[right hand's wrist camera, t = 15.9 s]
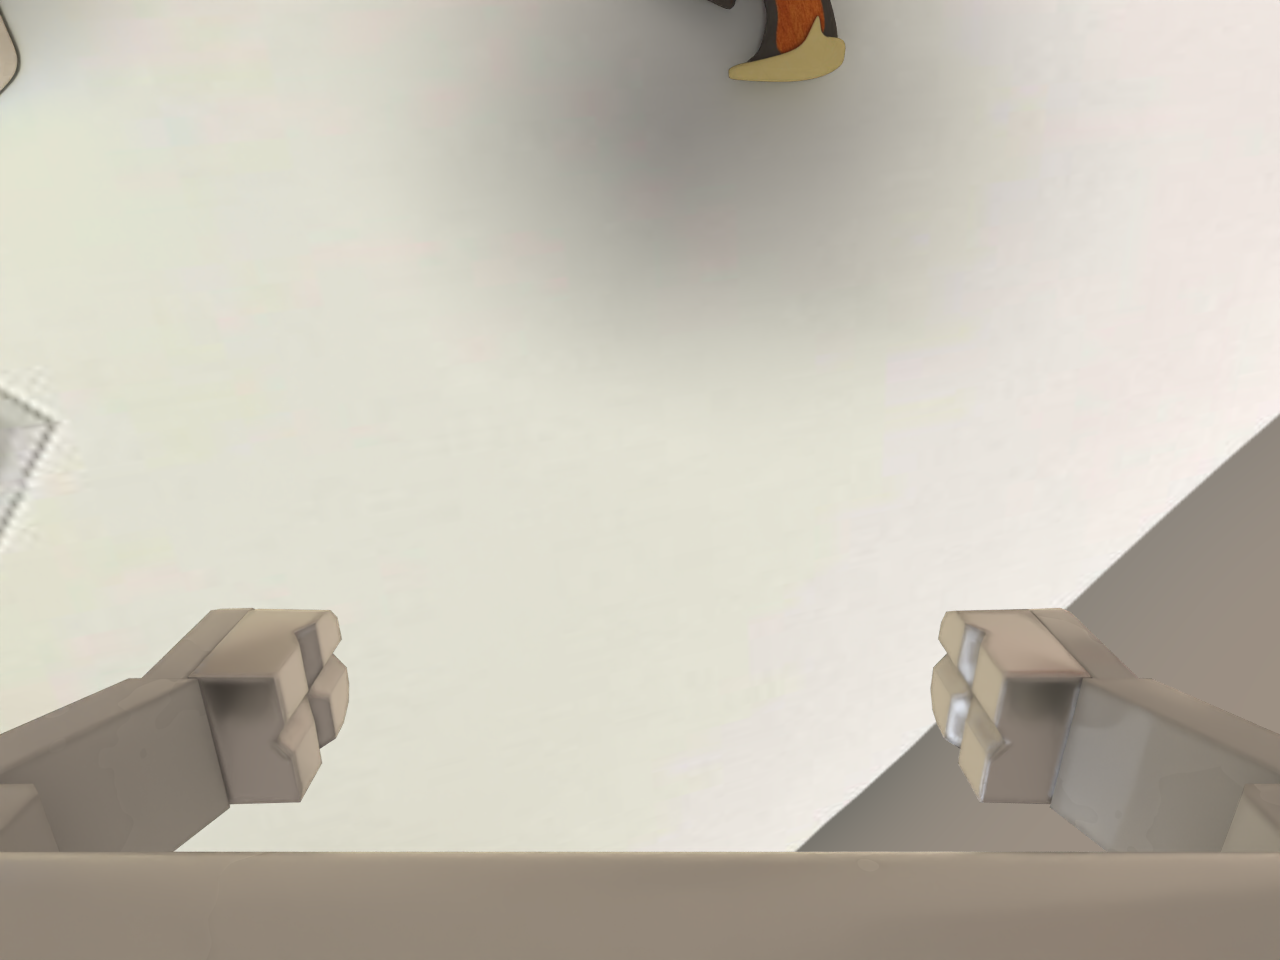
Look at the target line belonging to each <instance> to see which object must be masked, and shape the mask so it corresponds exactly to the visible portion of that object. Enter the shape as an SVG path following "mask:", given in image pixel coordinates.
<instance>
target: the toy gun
mask: <svg viewBox="0 0 1280 960" xmlns="http://www.w3.org/2000/svg"><path fill="white" fill-rule="evenodd" d="M709 1H711V2H713V3H715V4H717V5H719V6H721V7H723V8H726V9H731V8H732V7H733V6H734V4H735V0H709ZM764 2H765V7H766V12H767V23H766V27H765V32H764V37H763V40H762V44H761V47H760V49H759V51H758V52H757V53H756V55H755V56H754V57H752V58H751V59H750V60H749V61H748V62H747V63H743V64H739V65H736V66H734V67H732V68H730V69H729V78H731V79H736V80H749V81H770V82H790V81H802V80H808V79H814V78H818V77H821V76H824V75H826V74H829V73H830V72H832V71H834V70H835V69H837V68H838V67H839V66H840V65H841V64H842V62H843V60H844V55H845V43H844V41H843V40H841V39H839V38H838V35H837V28H836V22H835V18H834V13H833V9H832V6H831V2H830V0H764Z"/></svg>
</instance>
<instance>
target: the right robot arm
mask: <svg viewBox="0 0 1280 960" xmlns="http://www.w3.org/2000/svg"><path fill="white" fill-rule="evenodd" d="M16 68H17V55H16V51H15V48H14V45H13V43H12V40H11V38H10V36H9V33H8V31H7V29H6V26H5V24H4V22H3V20H2V17H1V15H0V91H1V90H2V89H3V88H4V87H5V86H6V85H7V84H8V82H9V81H10V80H11V78H12V77H13V75H14V73H15V71H16ZM341 640H342V637H341V632H340V628H339V623H338V618H337V616H336V615H335V614H334V613H333V612H332V611H331V610H298V609H253V608H233V609H217V610H211V611H210V612H209V613H208V614H207V615H206V616H205V617H204V618H203V619H202V620H201V621H200V622H199V623H198V624H197V625H196V626H195V627H194V628H193V629H192V630H191V631H190V632H188V633H187V634H186V635H185V636H184V637H183V638H182V639H181V640H180V641H179V642H178V643H177V644H176V645H175V646H174V647H173V648H172V649H171V650H170V651H169V652H168V653H167V654H166V655H165V656H164V657H163V658H162V659H161V660H160V661H159V662H158V663H157V664H156V665H155V666H154V667H153V668H152V669H150V670H149V671H148V672H147V673H146V674H145V675H144V676H143V677H142V678H129V679H126V680H124V681H122V682H119V683H117V684H115V685H113V686H110V687H108V688H106V689H103V690H101V691H99V692H96V693H94V694H92V695H90V696H87V697H85V698H83V699H80V700H78V701H76V702H74V703H71V704H69V705H67V706H64V707H62V708H60V709H57V710H55V711H53V712H51V713H48V714H46V715H44V716H41V717H39V718H37V719H34V720H32V721H30V722H28V723H25V724H23V725H21V726H18V727H16V728H14V729H11V730H9V731H7V732H5V733H2V734H0V960H1280V734H1277V733H1275V732H1273V731H1270V730H1268V729H1266V728H1264V727H1261V726H1259V725H1257V724H1254V723H1252V722H1250V721H1248V720H1245V719H1243V718H1241V717H1238V716H1236V715H1234V714H1232V713H1229V712H1227V711H1225V710H1222V709H1220V708H1218V707H1215V706H1213V705H1211V704H1209V703H1206V702H1204V701H1202V700H1199V699H1197V698H1195V697H1192V696H1190V695H1188V694H1186V693H1183V692H1181V691H1179V690H1177V689H1174V688H1172V687H1170V686H1167V685H1165V684H1163V683H1161V682H1158V681H1156V680H1154V679H1151V678H1138V677H1137V676H1136V675H1135V674H1134V673H1133V672H1132V671H1131V670H1130V669H1129V668H1128V667H1126V666H1125V665H1124V664H1123V663H1122V662H1121V661H1120V660H1119V659H1118V658H1117V657H1116V656H1115V655H1114V654H1113V653H1112V652H1111V651H1110V650H1109V649H1108V648H1107V647H1106V646H1105V645H1104V644H1103V643H1102V642H1101V641H1100V640H1099V639H1098V638H1097V637H1096V636H1095V635H1094V634H1093V633H1092V632H1091V631H1090V630H1089V629H1088V628H1086V626H1085V625H1084V624H1082V623H1081V622H1080V621H1079V620H1078V619H1077V618H1076V617H1075V616H1074V615H1073V614H1072V613H1071V612H1070V611H1067V610H1065V609H1062V608H1044V609H1011V610H971V611H948V612H946V613H945V615H944V618H943V620H942V622H941V626H940V632H939V637H938V640H939V641H940V643H941V644H942V646H943V647H944V649H945V650H946V652H947V654H946V655H945V656H944V657H943V658H942V659H941V660H940V661H939V662H938V663H937V664H936V665H935V666H934V667H933V674H932V682H931V699H932V710H933V713H934V716H935V720H936V723H937V725H938V727H939V729H940V731H941V733H942V735H943V737H944V738H945V739H946V740H948V741H949V742H951V743H952V744H954V745H955V746H957V747H958V748H960V754H959V760H958V764H959V766H960V768H961V769H962V771H963V773H964V775H965V777H966V778H967V780H968V782H969V784H970V785H971V787H972V789H973V791H974V793H975V794H976V796H977V798H978V800H979V801H980V802H990V803H1027V804H1051V805H1050V808H1051V809H1053V810H1054V811H1055V812H1057V813H1058V814H1059V815H1061V816H1062V817H1063V818H1064V819H1066V820H1067V821H1068V822H1070V823H1071V824H1072V825H1073V826H1075V827H1076V828H1077V829H1078V830H1080V831H1081V832H1082V833H1084V834H1085V835H1086V836H1087V837H1089V838H1090V839H1091V840H1093V841H1094V842H1095V843H1097V844H1098V845H1099V846H1100V847H1102V848H1103V849H1104V850H1106V851H1107V852H173V851H175V850H176V849H177V848H179V847H180V846H181V845H182V844H184V843H185V842H186V841H188V840H189V839H190V838H191V837H193V836H194V835H195V834H197V833H198V832H199V831H200V830H202V829H203V828H204V827H206V826H207V825H208V824H210V823H211V822H212V821H213V820H215V819H216V818H217V817H219V816H220V815H221V814H222V813H224V812H225V811H226V810H228V809H229V808H230V805H229V804H253V803H288V802H301V800H302V798H303V796H304V794H305V793H306V791H307V789H308V787H309V786H310V784H311V782H312V780H313V778H314V777H315V775H316V773H317V771H318V769H319V768H320V766H321V764H322V760H321V754H320V748H322V747H323V746H325V745H326V744H328V743H329V742H331V741H332V740H334V739H335V738H336V737H337V735H338V733H339V731H340V729H341V727H342V725H343V723H344V720H345V716H346V711H347V707H348V703H349V680H348V673H347V667H346V666H345V665H344V664H343V663H342V662H341V661H340V660H339V659H338V658H337V657H336V656H335V655H334V654H333V652H334V650H335V649H336V647H337V646H338V644H339V643H340V641H341Z"/></svg>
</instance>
